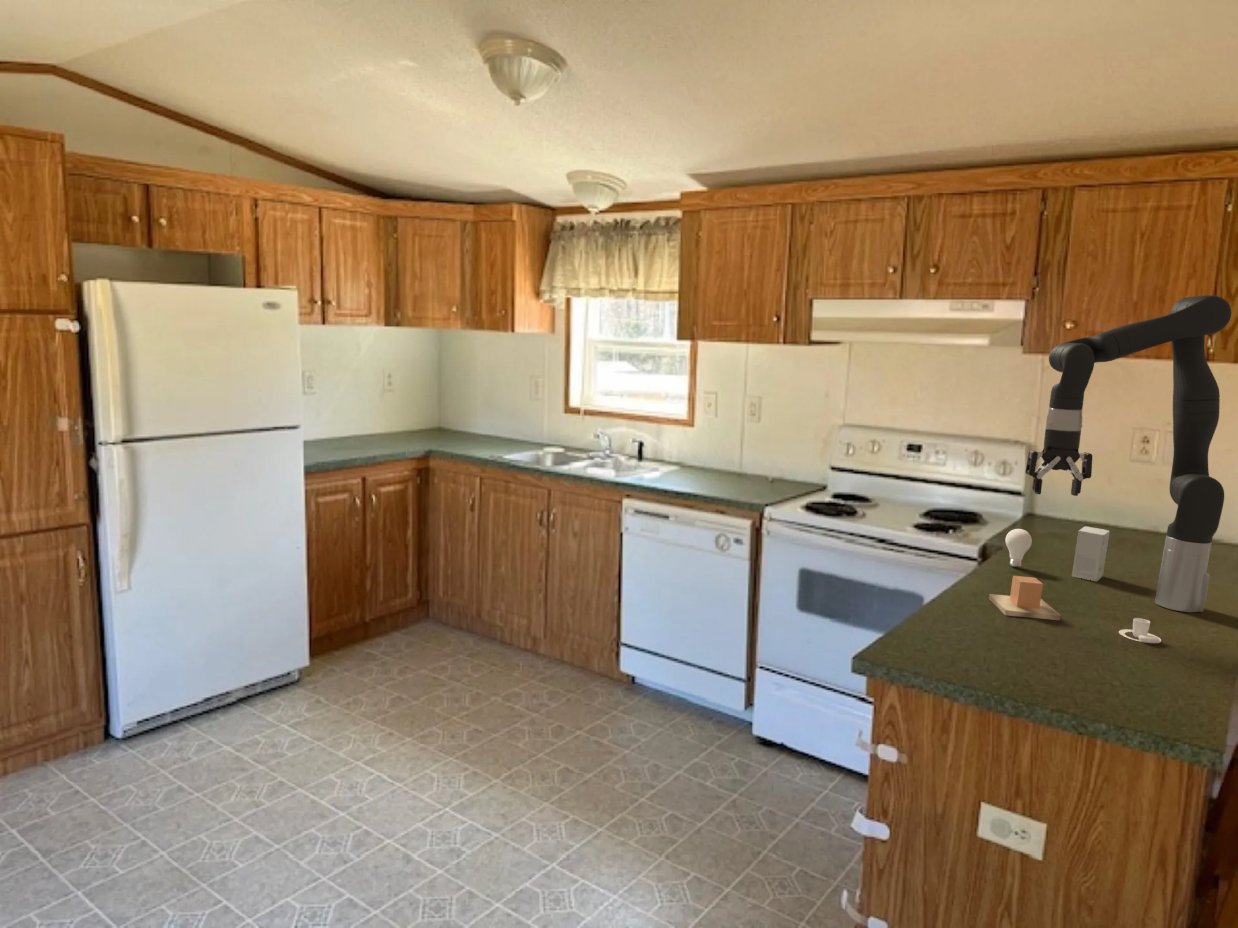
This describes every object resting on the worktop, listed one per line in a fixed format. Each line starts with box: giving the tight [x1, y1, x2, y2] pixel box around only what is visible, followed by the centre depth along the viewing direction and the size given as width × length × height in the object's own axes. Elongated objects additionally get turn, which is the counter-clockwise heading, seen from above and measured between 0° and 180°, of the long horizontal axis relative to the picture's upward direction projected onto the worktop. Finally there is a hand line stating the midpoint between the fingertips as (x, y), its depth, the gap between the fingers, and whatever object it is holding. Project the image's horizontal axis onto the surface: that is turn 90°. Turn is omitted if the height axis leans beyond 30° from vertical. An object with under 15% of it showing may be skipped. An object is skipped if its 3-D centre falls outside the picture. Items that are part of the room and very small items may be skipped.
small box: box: [1071, 526, 1111, 582], centre depth 228 cm, size 8×6×13 cm
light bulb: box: [1005, 528, 1033, 568], centre depth 233 cm, size 7×7×11 cm
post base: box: [988, 593, 1062, 621], centre depth 196 cm, size 12×12×5 cm
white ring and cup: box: [1118, 617, 1162, 644], centre depth 182 cm, size 9×8×4 cm
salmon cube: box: [1009, 575, 1044, 609], centre depth 196 cm, size 5×5×6 cm
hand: (1055, 494), depth 201 cm, fingers open, 8 cm apart
